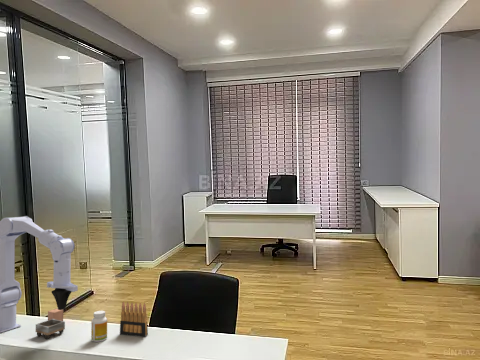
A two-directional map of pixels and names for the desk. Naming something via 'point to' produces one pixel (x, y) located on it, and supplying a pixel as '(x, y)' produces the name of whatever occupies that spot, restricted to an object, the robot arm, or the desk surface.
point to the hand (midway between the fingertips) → (61, 309)
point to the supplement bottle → (99, 327)
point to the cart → (50, 327)
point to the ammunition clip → (133, 321)
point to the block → (55, 314)
